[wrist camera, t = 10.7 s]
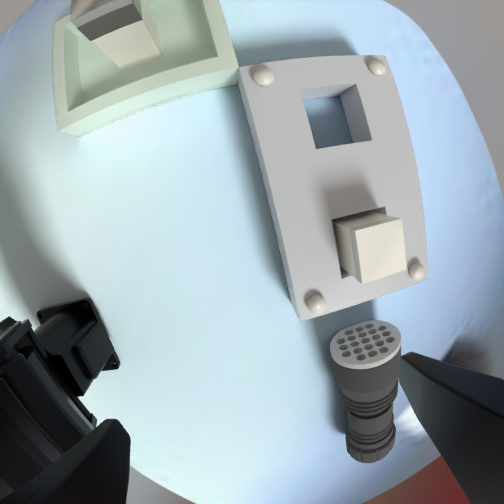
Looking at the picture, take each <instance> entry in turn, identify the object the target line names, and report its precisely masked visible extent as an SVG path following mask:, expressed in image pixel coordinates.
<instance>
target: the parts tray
mask: <svg viewBox="0 0 504 504" xmlns="http://www.w3.org/2000/svg"><path fill="white" fill-rule="evenodd" d="M144 1H145V3H146V5H147V7H148V9H149V11H150V13H151V15H152V17H153V19H154V21H155V23H156V25H157V29H158V35H159V40H160V46H161V51H162V57H160V58H157V59H154V60H151V61H148V62H145V63H143V64H140V65H137V66H134V67H132V68H129V69H127V70H124V71H122V70H121V69H120V68H119V67H118V66H117V65H116V64H115V63H114V62H113V61H112V60H111V59H110V58H109V57H108V56H107V55H106V54H105V53H104V52H103V51H102V50H101V49H100V48H99V47H98V46H97V45H96V44H95V43H94V42H93V41H90V40H89V39H88V38H87V37H85V36H84V35H83V34H82V33H81V32H80V31H79V30H78V29H77V27H76V26H75V25H74V24H73V23H72V22H71V13H70V14H69V15H67V16H65V17H63V18H62V19H60V20H58V21H56V22H55V23H54V31H53V86H54V101H55V113H56V122H57V131H58V132H61V133H65V134H68V135H72V136H76V137H81V136H84V135H86V134H88V133H90V132H92V131H94V130H97V129H99V128H101V127H103V126H106V125H108V124H110V123H113V122H115V121H118V120H120V119H123V118H125V117H128V116H130V115H133V114H136V113H138V112H141V111H144V110H146V109H149V108H152V107H155V106H158V105H161V104H164V103H167V102H170V101H174V100H177V99H180V98H184V97H187V96H190V95H194V94H198V93H201V92H205V91H209V90H213V89H217V88H221V87H226V86H230V85H235V84H238V73H239V65H238V62H237V58H236V55H235V51H234V48H233V44H232V41H231V38H230V34H229V31H228V28H227V25H226V21H225V18H224V15H223V12H222V9H221V5H220V2H219V0H144Z"/></svg>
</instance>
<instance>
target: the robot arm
mask: <svg viewBox="0 0 504 504" xmlns="http://www.w3.org/2000/svg"><path fill="white" fill-rule="evenodd" d="M85 303H87V304H88V306H89V307H88V306H86V304H85ZM41 314H42V315H43V316H42V315H41ZM37 317H38V319H39V321H40V324H41V326H39V327H38V328H37V329H36V330H35V331H33V330H32V328H31V327H32V325H31V323H30V321H29V320H28V319H27V320H24V321H22V322H21V321H15V320H14V319H12V318H11V317H10V316H9V317H7V318H5V319H4V320H2V321H1V322H0V504H126V499H127V491H128V483H129V470H130V468H129V467H130V445H131V440H130V436H129V434H128V433H127V431H126V430H125V429H124V427H123V426H122V424H121V423H120V422H119V421H118V420H117V419H106V420H104V421H103V422H102V423H101V424H100V425H98V426H97V427H96V424H97V419H96V417H95V416H94V415H93V414H92V413H90V412H89V411H88V410H87V408H86V407H85V406H84V405H83V403H82V402H81V401H80V400H79V398H78V397H79V396H84V394H85V393H86V391H87V390H88V388H89V386H90V385H91V383H92V381H93V380H94V379H96V378H97V377H98V375H99V373H100V372H101V371H106V370H115V369H118V368H119V366H120V361H119V359H118V357H117V355H116V353H115V351H114V347H113V345H112V343H111V341H110V339H109V337H108V335H107V333H106V330H105V328H104V326H103V324H102V323H101V321H100V319H99V316H98V314H97V312H96V309H95V307H94V304H93V302H92V300H90V299H89V298H83V299H79V300H75V301H71V302H67V303H63V304H59V305H55V306H51V307H47V308H43V309H40V310H39V311H38V312H37ZM113 362H114V363H115V364H114V363H113ZM398 379H399V382H400V385H401V386H402V388H403V390H404V392H405V394H406V396H407V398H408V400H409V402H410V404H411V406H412V408H413V410H414V413H415V414H416V416H417V418H418V420H419V421H420V423H421V425H422V426H423V428H424V429H425V431H426V432H427V434H428V435H429V437H430V438H431V440H432V442H433V443H434V445H435V446H436V448H437V449H438V451H439V452H440V454H441V456H442V457H443V459H444V460H445V462H446V463H447V465H448V467H449V468H450V470H451V472H452V473H453V475H454V477H455V478H456V480H457V481H458V483H459V485H460V487H461V488H462V490H463V492H464V493H465V495H466V497H467V499H468V500H469V502H470V504H504V380H503V379H501V378H498V377H494V376H490V375H487V374H483V373H480V372H476V371H473V370H469V369H466V368H462V367H459V366H456V365H452V364H449V363H446V362H443V361H439V360H436V359H433V358H430V357H427V356H423V355H420V354H417V353H414V352H409V353H407V354H404V355H402V356H401V357H400V358H399V368H398Z"/></svg>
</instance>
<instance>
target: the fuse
mask: <svg viewBox="0 0 504 504" xmlns="http://www.w3.org/2000/svg"><path fill="white" fill-rule="evenodd" d="M331 220H332V225H333V230H334V236H335V241H336V247H337V253H338V259H339V266H340V267H342V268H343V269H344V270H345V271H347V272H348V273H349V274H350V275H352V276H353V277H354V278H355V279H356V280H357V281H358V282H360V283H361V284H365V283H369V282H372V281H375V280H378V279H381V278H384V277H387V276H390V275H393V274H396V273H399V272H402V271H405V270H407V265H406V252H405V241H404V231H403V223H402V218H398V217H392V216H388V215H384V214H379V213H375V212H370V211H364V212H360V213H356V214H352V215H348V216H344V217H340V218H336V219H331Z"/></svg>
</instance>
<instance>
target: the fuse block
mask: <svg viewBox="0 0 504 504" xmlns="http://www.w3.org/2000/svg"><path fill="white" fill-rule="evenodd" d="M238 86H239V90H240V94H241V97H242V101H243V105H244V108H245V112H246V116H247V120H248V123H249V127H250V131H251V135H252V139H253V143H254V147H255V150H256V154H257V158H258V162H259V166H260V170H261V174H262V178H263V182H264V186H265V191H266V195H267V199H268V203H269V207H270V211H271V215H272V220H273V224H274V228H275V232H276V237H277V241H278V245H279V250H280V254H281V259H282V263H283V268H284V272H285V277H286V281H287V286H288V290H289V295H290V299H291V304H292V306H293V308H294V310H295V312H296V314H297V316H298V318H299V320H300V322H301V321H305V320H308V319H312V318H315V317H318V316H322V315H325V314H328V313H332V312H335V311H338V310H341V309H344V308H348V307H351V306H354V305H357V304H360V303H363V302H366V301H369V300H372V299H375V298H378V297H381V296H383V295H386V294H389V293H392V292H395V291H397V290H400V289H403V288H405V287H408V286H411V285H413V284H416V283H419V282H421V281H424V280H426V279H428V260H427V243H426V231H425V220H424V211H423V203H422V196H421V189H420V183H419V177H418V171H417V166H416V160H415V155H414V151H413V146H412V142H411V137H410V133H409V129H408V125H407V121H406V117H405V114H404V110H403V107H402V103H401V100H400V96H399V93H398V90H397V87H396V84H395V81H394V78H393V75H392V72H391V69H390V67H389V64H388V61H387V59H386V56H376V55H343V56H321V57H308V58H297V59H288V60H280V61H273V62H266V63H260V64H254V65H248V66H243V67H239V73H238ZM337 96H340V99H341V102H342V105H343V109H344V112H345V116H346V120H347V123H348V127H349V131H350V135H351V139H352V143H351V144H344V145H338V146H332V147H326V148H320V149H316V147H315V143H314V139H313V135H312V131H311V128H310V124H309V120H308V117H307V113H306V110H305V106H304V103H303V100H311V99H318V98H327V97H337ZM364 211H370V212H375V213H379V214H384V215H388V216H392V217H398V218H402V223H403V231H404V241H405V252H406V265H407V270H405V271H402V272H399V273H396V274H393V275H390V276H387V277H384V278H381V279H378V280H375V281H372V282H369V283H365V284H361V283H360V282H358V281H357V280H356V279H355V278H354V277H353V276H352V275H350V274H349V273H348V272H347V271H345V270H344V269H343V268H342V267H340V266H339V259H338V253H337V247H336V241H335V236H334V230H333V225H332V220H331V219H336V218H340V217H344V216H348V215H352V214H356V213H360V212H364Z"/></svg>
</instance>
